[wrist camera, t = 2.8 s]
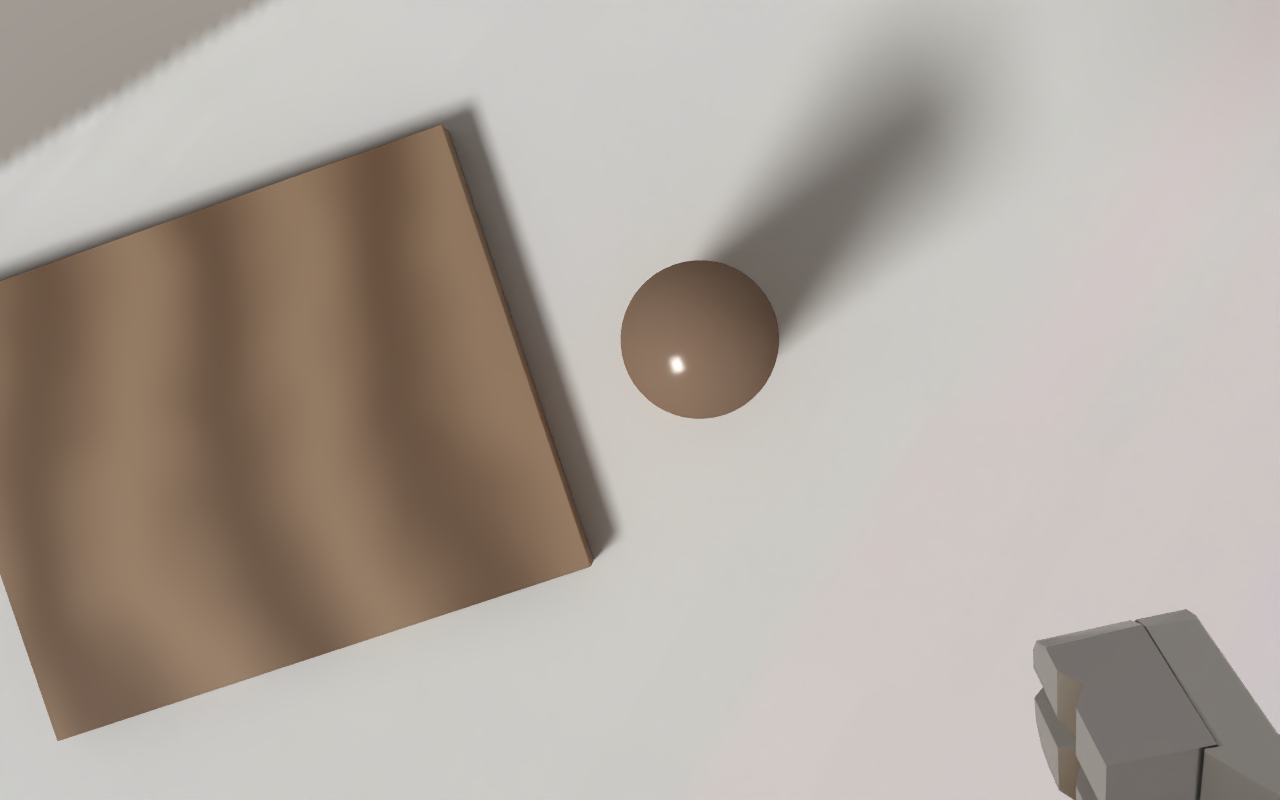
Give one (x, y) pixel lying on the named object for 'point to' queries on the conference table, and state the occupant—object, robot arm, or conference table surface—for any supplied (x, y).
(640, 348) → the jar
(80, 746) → the conference table surface
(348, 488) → the board
